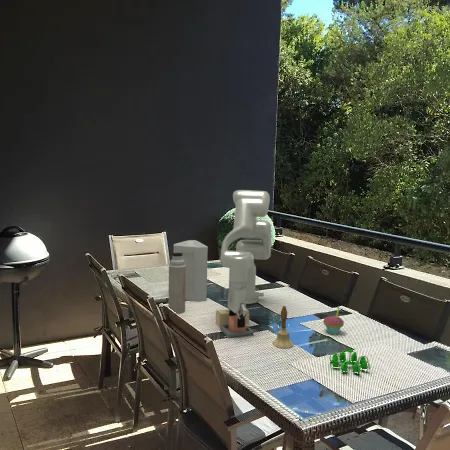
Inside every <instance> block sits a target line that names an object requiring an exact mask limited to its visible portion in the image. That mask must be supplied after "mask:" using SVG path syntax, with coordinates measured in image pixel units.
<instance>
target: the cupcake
mask: <svg viewBox="0 0 450 450" xmlns="http://www.w3.org/2000/svg"><path fill="white" fill-rule="evenodd" d="M339 311H340V305H339V306H338V307H337V310H336V314H335V315H328V316H326V317H325V318H324V319H323V321H322V322H323V325H324V326H325V327H326V331H327V333H328V334H330V333H331V335H338V334H339V332H340V330H341V329H342V327H343V326H344V324H345V323H344V320H343V318H341V317H339ZM337 333H338V334H337Z"/></svg>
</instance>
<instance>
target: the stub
mask: <svg viewBox="0 0 450 450" xmlns="http://www.w3.org/2000/svg"><path fill="white" fill-rule="evenodd" d="M237 320H238V315H234V316H229V330H230V331H231V332H232V333H235V332H244V331H246V325H247V324H246V323H247V318H245V327H243V328H238V327H237Z"/></svg>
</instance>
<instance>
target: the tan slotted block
mask: <svg viewBox="0 0 450 450" xmlns="http://www.w3.org/2000/svg"><path fill="white" fill-rule="evenodd" d="M240 311H241V310H240ZM246 311H247V312H246V316H245V317H246V318H247V323H246V325H249V324H250V311H249V310H248V309H247V308H246ZM241 314H242V313H240V315H241ZM236 315H238V314H237V313H236ZM215 324H216V326H217V327H218V328H220V325H226V324H229V308H228V309H218V310H215Z"/></svg>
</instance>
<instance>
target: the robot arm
mask: <svg viewBox="0 0 450 450" xmlns="http://www.w3.org/2000/svg"><path fill="white" fill-rule="evenodd" d="M232 199H233V203H234V204H235V210H234V222H233V228H232V230H231V231H230V232H228V233H227V234H226V235H225V237H224V238H223V241H222V243H221V251H220V257H219V258H220V260H219V261H220V265H221V266H222V267H223V268H226V269H229V271H228V272H229V273H228V276H229V277H228V291H227V292H228V294H227V303H226V304H227V308H228V309H229V316H234V315H236V313H237V314H238V320H237V327H238V328H243V327H245V318H246V317H245V316H246V312H247V311H246V309H247V305H251V304H255V303H256V304H257V302H259V301H258V300H259V298H258V297H264V296H265V293H264V292H260V291H256V282H257V281H256V279H257V267H256V264H255V263H254V262H255V260H268V259H269V258H270V257H271V253H272V224H271V222H270V221H267V220H263V219H262V220H261V219H260V220H259V219H257V217H259V218H264V217H266V216H267V215H268V212H269V208H270V203H271V202H270V201H271V200H270V199H271V196H270V193H268V191H266V190H265V191H264V190H250V189H237V190H235V191H233V193H232ZM241 238H242V239H241ZM238 239H241V240H239V241H237V240H238ZM234 241H237V243H236V245H235V249H236V250H229V247H230V245H231V244H232V243H234ZM240 310H241V311H240ZM240 313H242V314H241V315H240Z"/></svg>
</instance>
